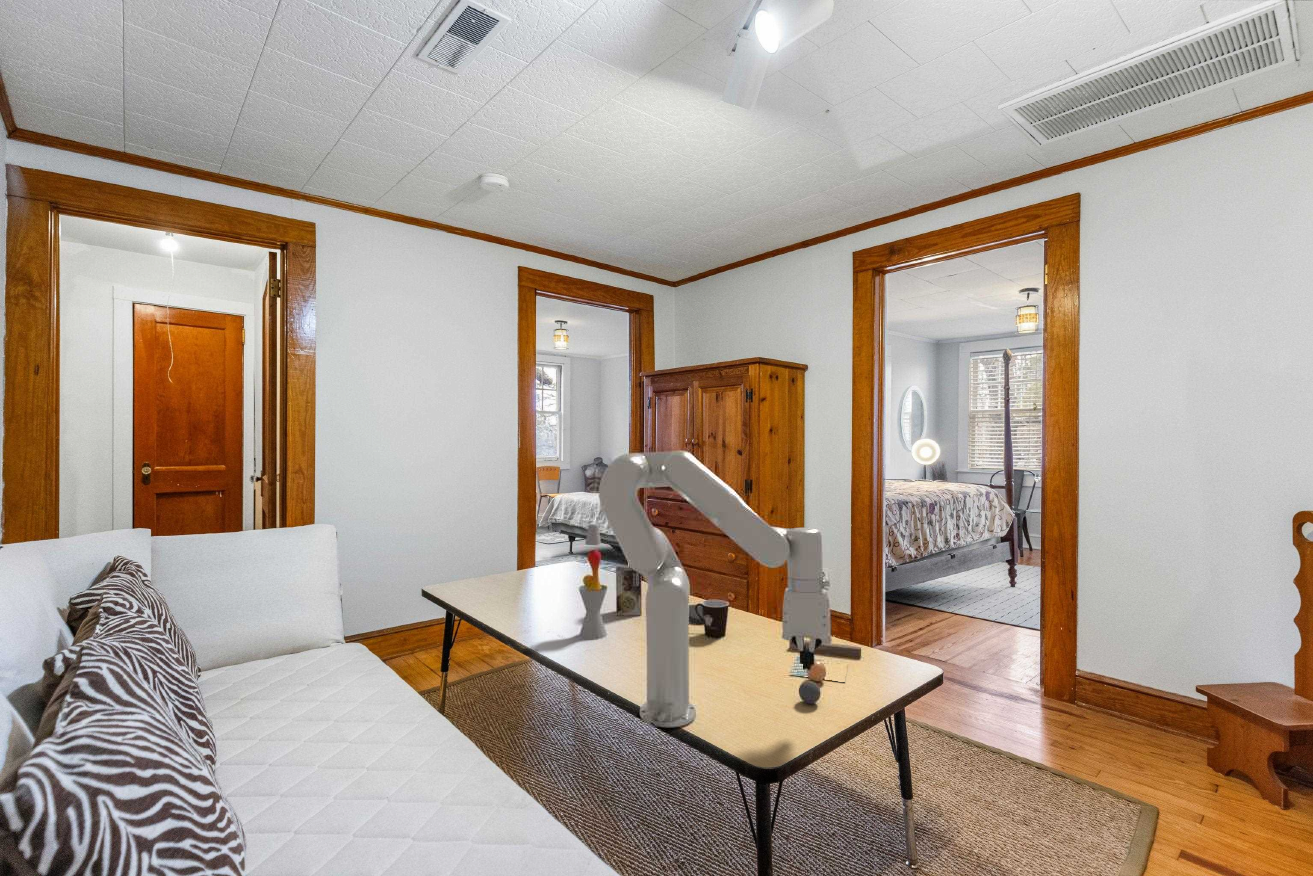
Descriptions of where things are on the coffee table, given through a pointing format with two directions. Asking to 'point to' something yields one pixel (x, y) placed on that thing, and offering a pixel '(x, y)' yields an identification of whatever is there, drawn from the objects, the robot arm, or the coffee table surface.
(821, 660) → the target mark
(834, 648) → the wall
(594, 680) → the coffee table surface
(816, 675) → the object ball
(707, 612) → the coffee mug
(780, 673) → the coffee table surface
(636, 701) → the coffee table surface
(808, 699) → the grey ball
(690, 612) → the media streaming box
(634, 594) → the coffee box
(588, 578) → the lava lamp
